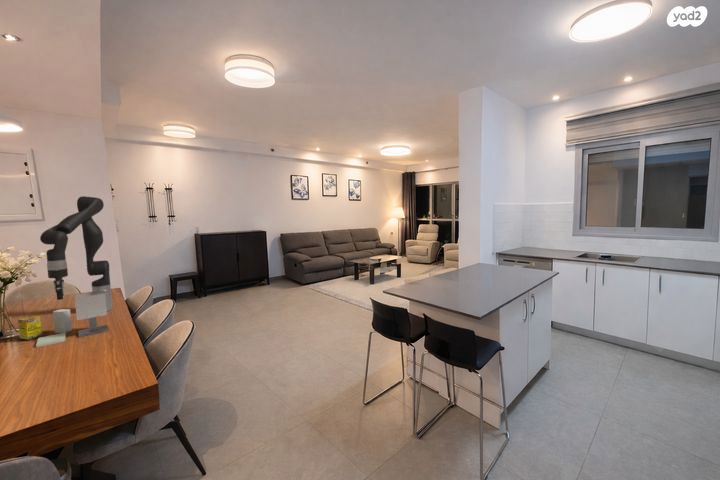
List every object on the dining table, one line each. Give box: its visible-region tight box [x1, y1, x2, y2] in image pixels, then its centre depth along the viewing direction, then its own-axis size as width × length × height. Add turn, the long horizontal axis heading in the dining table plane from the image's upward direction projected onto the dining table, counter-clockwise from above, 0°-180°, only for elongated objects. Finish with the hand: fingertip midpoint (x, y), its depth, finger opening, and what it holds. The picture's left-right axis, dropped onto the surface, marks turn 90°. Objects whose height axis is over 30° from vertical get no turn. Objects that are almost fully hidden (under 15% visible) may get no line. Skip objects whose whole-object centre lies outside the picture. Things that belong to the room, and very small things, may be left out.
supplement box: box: [17, 315, 43, 342], centre depth 155 cm, size 6×6×11 cm
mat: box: [35, 332, 67, 348], centre depth 152 cm, size 11×10×1 cm
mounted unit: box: [74, 291, 109, 338], centre depth 162 cm, size 9×12×21 cm
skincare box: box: [52, 308, 73, 334], centre depth 163 cm, size 6×4×12 cm
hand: (60, 297), depth 162 cm, fingers open, 8 cm apart
